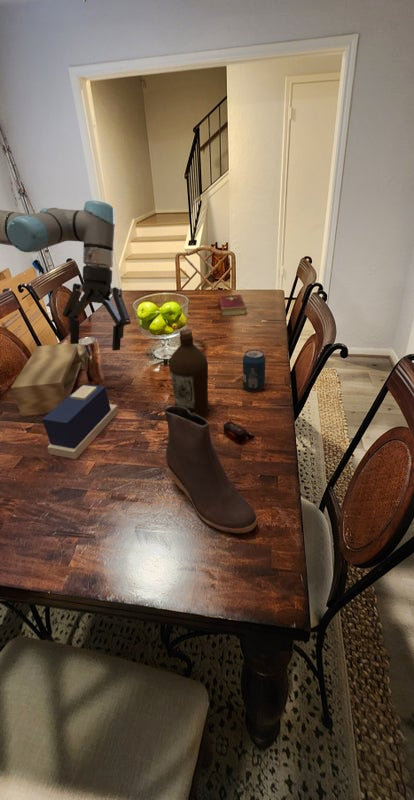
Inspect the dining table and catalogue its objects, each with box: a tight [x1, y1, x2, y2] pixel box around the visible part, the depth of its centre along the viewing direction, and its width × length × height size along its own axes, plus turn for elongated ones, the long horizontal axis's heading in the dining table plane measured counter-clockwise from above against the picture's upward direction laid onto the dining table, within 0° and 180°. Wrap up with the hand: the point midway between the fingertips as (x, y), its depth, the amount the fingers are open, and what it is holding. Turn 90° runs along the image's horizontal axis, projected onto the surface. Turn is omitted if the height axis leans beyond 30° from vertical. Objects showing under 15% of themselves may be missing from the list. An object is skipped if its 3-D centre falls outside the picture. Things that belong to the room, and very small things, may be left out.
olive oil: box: [168, 328, 209, 418], centre depth 103 cm, size 11×11×25 cm
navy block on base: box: [41, 383, 120, 460], centre depth 100 cm, size 22×8×11 cm, turn 163°
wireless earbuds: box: [223, 421, 255, 445], centre depth 97 cm, size 5×7×3 cm, turn 43°
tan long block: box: [10, 342, 84, 417], centre depth 122 cm, size 14×30×10 cm, turn 8°
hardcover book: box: [218, 294, 247, 317], centre depth 186 cm, size 12×21×4 cm, turn 2°
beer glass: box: [77, 336, 106, 386], centre depth 125 cm, size 7×7×15 cm
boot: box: [163, 405, 258, 534], centre depth 74 cm, size 9×24×20 cm, turn 45°
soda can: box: [242, 349, 266, 393], centre depth 116 cm, size 7×7×12 cm
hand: (95, 346), depth 103 cm, fingers open, 13 cm apart
